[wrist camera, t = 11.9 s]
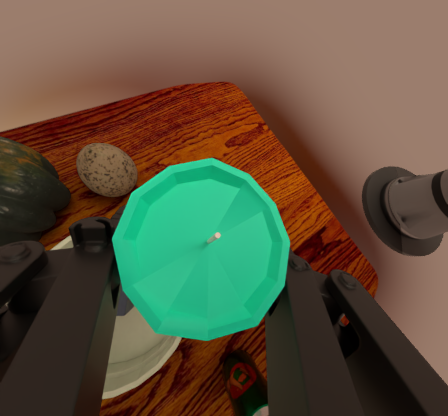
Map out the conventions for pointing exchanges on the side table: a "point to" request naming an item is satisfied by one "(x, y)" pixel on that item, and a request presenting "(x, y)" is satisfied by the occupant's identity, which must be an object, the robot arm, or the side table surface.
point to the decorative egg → (106, 169)
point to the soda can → (245, 385)
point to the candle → (201, 250)
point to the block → (124, 304)
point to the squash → (27, 193)
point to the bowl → (132, 349)
